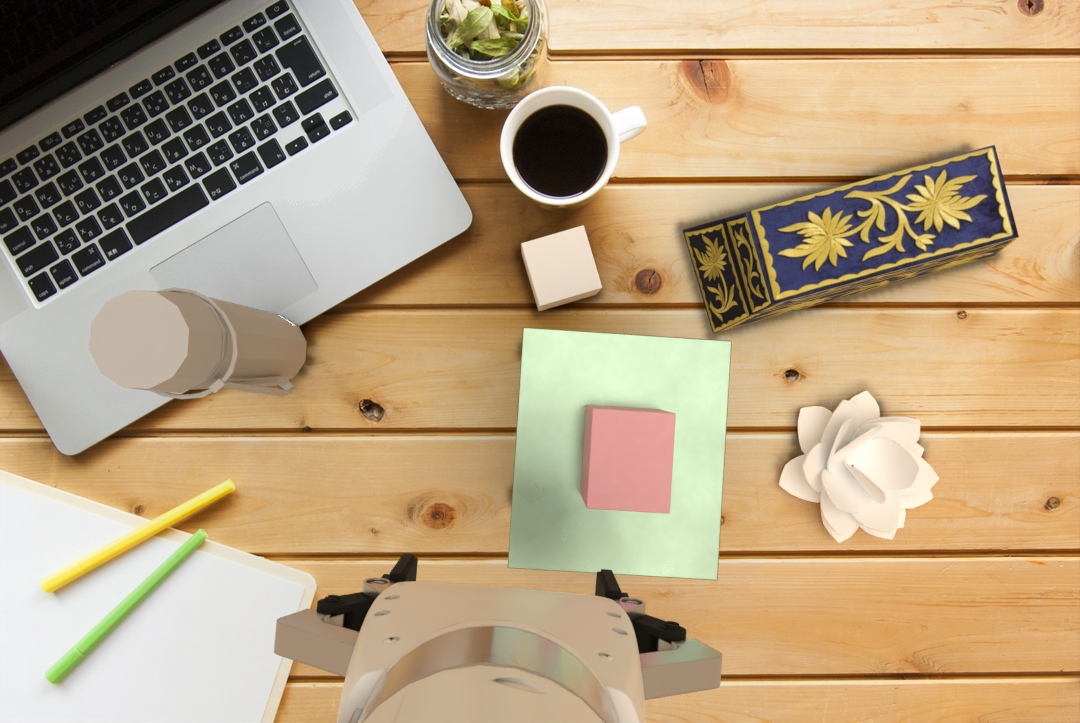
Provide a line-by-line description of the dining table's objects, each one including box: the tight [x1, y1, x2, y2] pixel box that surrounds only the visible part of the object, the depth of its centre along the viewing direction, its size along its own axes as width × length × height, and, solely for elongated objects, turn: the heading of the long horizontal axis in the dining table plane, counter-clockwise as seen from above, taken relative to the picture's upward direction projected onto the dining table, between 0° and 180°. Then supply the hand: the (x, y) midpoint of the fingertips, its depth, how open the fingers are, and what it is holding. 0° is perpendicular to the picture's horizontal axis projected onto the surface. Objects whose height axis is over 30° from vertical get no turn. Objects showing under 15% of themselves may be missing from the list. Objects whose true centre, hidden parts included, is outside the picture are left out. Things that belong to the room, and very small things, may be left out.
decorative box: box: [682, 144, 1020, 334], centre depth 69 cm, size 11×30×9 cm, turn 105°
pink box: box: [580, 405, 676, 514], centre depth 46 cm, size 6×5×5 cm
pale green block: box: [507, 326, 733, 581], centre depth 61 cm, size 16×14×24 cm
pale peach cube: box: [520, 224, 603, 312], centre depth 70 cm, size 6×6×6 cm
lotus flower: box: [778, 390, 940, 544], centre depth 69 cm, size 14×15×9 cm
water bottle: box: [88, 286, 308, 400], centre depth 60 cm, size 9×8×25 cm
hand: (505, 592), depth 36 cm, fingers open, 9 cm apart
